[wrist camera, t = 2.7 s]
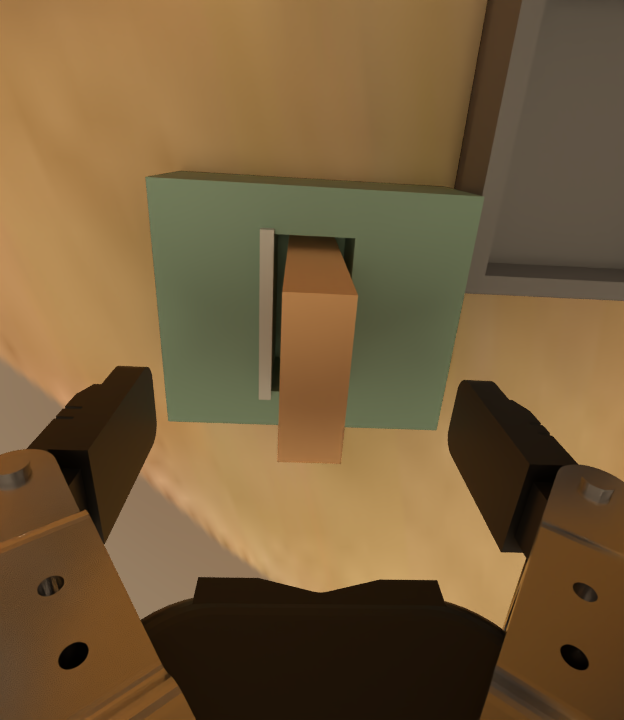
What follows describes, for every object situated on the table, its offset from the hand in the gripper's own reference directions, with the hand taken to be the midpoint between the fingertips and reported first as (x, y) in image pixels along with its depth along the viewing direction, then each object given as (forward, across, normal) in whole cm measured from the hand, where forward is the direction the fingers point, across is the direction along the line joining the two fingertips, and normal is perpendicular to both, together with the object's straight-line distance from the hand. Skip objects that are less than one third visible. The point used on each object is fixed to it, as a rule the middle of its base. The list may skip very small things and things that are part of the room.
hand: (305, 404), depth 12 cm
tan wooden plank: (+10, 0, 0) cm, 10 cm away
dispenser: (+12, 0, 0) cm, 12 cm away
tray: (+12, -12, -7) cm, 18 cm away
